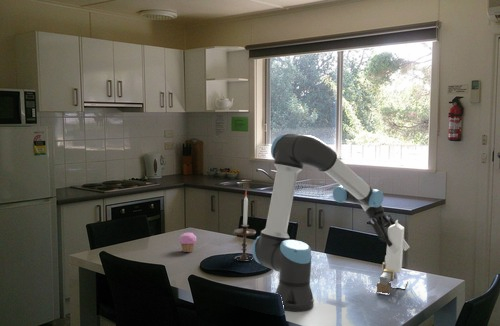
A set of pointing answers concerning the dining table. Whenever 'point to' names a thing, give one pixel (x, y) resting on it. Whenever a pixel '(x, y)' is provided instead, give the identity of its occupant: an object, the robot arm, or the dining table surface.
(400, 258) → the milk
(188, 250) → the cupcake
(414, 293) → the dining table surface
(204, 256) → the dining table surface
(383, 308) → the dining table surface
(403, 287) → the dining table surface
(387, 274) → the shaft rig
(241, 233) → the candlestick
